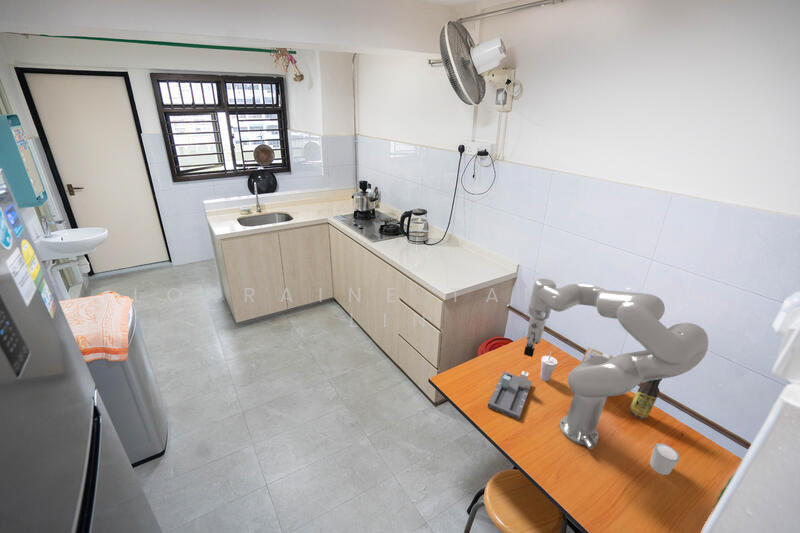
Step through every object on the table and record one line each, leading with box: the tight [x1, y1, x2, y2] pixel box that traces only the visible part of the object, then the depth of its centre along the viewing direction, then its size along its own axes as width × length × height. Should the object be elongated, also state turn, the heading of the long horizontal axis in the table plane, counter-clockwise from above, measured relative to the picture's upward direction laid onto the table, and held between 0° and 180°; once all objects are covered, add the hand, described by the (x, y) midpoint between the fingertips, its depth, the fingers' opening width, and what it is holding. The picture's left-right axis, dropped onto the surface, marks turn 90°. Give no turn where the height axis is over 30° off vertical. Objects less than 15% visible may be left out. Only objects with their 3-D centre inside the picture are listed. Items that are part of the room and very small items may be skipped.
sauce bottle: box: [628, 379, 663, 421], centre depth 136 cm, size 7×6×20 cm
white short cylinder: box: [649, 443, 680, 476], centre depth 118 cm, size 7×7×7 cm
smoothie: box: [540, 351, 558, 382], centre depth 154 cm, size 6×6×14 cm
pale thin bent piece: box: [571, 347, 614, 394], centre depth 150 cm, size 15×10×15 cm, turn 143°
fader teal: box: [501, 375, 511, 390], centre depth 147 cm, size 2×3×5 cm
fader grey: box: [518, 370, 530, 390], centre depth 148 cm, size 2×3×7 cm
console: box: [487, 371, 533, 421], centre depth 146 cm, size 22×12×2 cm, turn 150°
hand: (530, 348), depth 142 cm, fingers open, 9 cm apart
